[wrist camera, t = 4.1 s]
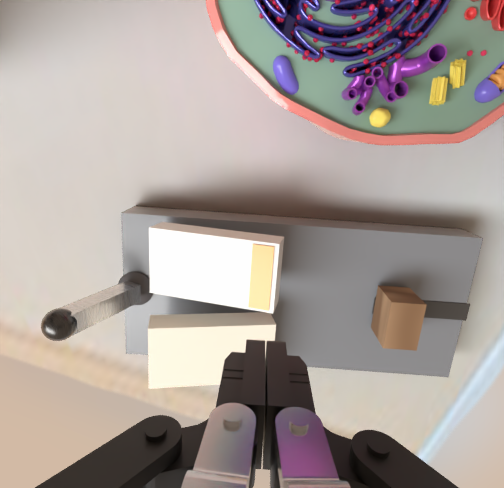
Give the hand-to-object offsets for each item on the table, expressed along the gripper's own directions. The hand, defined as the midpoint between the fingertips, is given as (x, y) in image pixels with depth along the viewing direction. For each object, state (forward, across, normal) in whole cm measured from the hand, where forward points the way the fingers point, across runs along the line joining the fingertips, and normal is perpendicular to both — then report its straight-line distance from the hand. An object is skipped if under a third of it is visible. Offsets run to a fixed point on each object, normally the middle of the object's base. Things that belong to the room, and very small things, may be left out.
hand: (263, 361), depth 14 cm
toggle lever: (+14, +10, +4) cm, 17 cm away
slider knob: (+14, -10, +4) cm, 18 cm away
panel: (+17, -2, +4) cm, 18 cm away
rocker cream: (+12, +4, +7) cm, 14 cm away
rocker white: (+12, +3, 0) cm, 12 cm away
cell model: (+18, -5, -17) cm, 25 cm away
